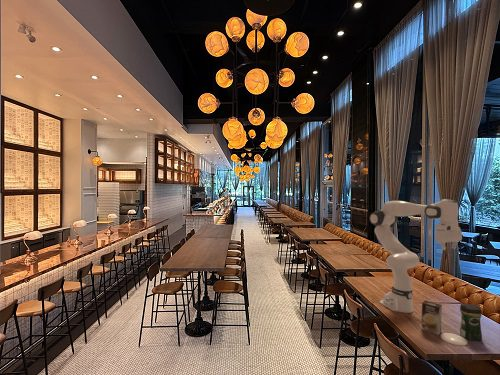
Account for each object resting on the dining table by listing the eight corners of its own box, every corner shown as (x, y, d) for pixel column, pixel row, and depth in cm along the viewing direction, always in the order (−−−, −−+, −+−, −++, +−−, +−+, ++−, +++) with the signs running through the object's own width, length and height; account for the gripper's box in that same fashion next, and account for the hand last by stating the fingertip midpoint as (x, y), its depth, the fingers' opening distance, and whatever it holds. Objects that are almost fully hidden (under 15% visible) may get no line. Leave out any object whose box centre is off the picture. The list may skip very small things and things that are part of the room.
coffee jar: (476, 334, 166) (476, 302, 166) (484, 342, 158) (484, 308, 158) (457, 333, 168) (457, 301, 167) (464, 340, 160) (464, 306, 160)
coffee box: (420, 329, 171) (421, 302, 171) (424, 326, 175) (424, 299, 175) (438, 335, 164) (439, 307, 164) (441, 331, 169) (442, 304, 169)
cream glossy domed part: (435, 337, 162) (435, 335, 162) (449, 332, 167) (449, 331, 167) (458, 348, 152) (458, 346, 152) (472, 343, 156) (472, 341, 156)
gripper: (454, 224, 181) (454, 246, 181) (433, 226, 172) (432, 249, 172) (465, 226, 175) (464, 248, 175) (443, 227, 167) (443, 251, 167)
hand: (448, 249), depth 174 cm, fingers open, 8 cm apart
